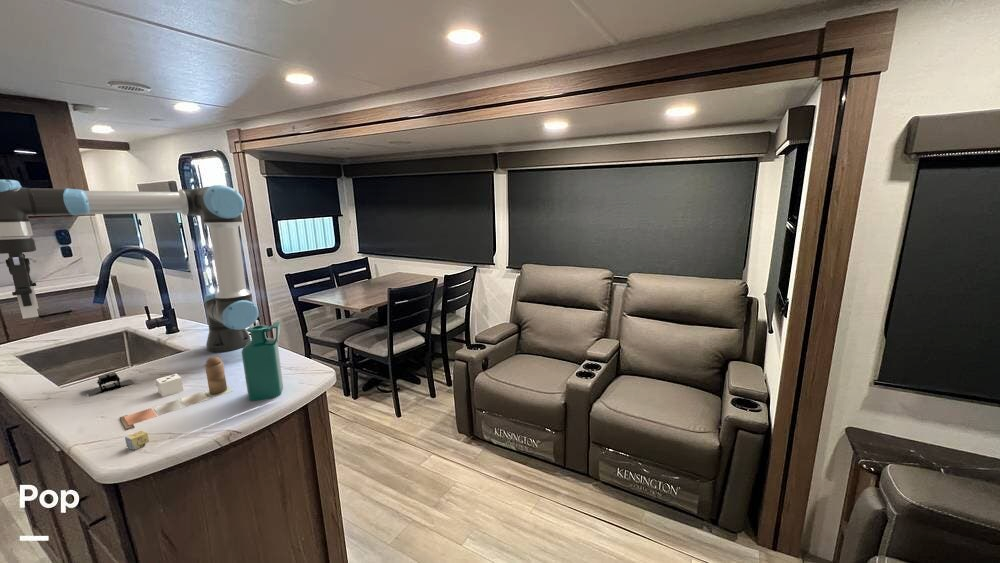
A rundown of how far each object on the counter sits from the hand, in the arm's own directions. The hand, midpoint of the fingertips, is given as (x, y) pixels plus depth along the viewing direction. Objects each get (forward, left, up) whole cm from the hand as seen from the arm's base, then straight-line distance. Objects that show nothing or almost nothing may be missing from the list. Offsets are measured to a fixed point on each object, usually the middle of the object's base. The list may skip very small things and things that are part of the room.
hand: (31, 313), depth 106 cm
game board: (-23, +32, -28) cm, 48 cm away
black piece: (-12, -1, -28) cm, 31 cm away
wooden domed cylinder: (-32, +32, -27) cm, 53 cm away
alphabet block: (-11, +48, -28) cm, 57 cm away
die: (-23, +20, -28) cm, 41 cm away
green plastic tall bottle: (-41, +46, -28) cm, 68 cm away
